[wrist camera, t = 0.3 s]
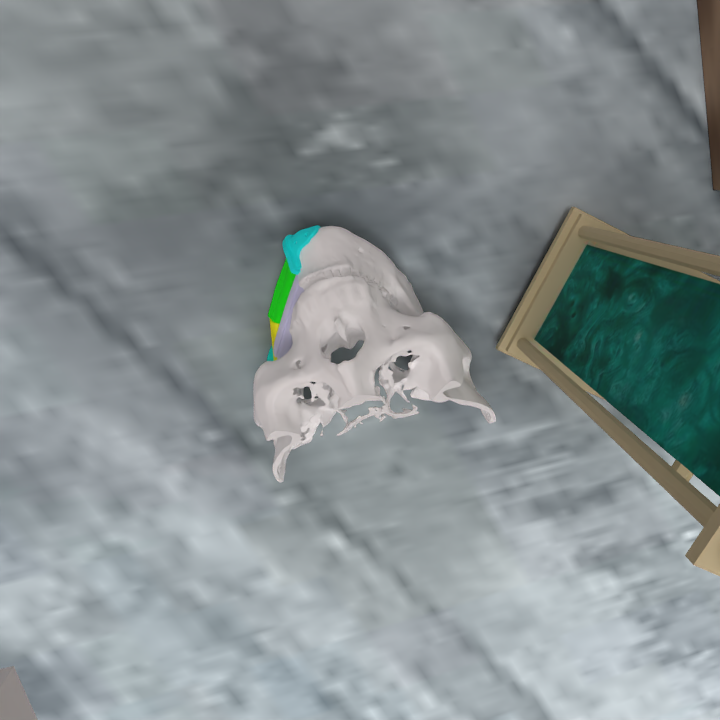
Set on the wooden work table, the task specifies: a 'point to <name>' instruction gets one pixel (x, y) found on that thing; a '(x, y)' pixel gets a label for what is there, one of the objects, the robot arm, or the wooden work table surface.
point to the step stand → (711, 77)
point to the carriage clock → (634, 352)
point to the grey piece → (350, 341)
